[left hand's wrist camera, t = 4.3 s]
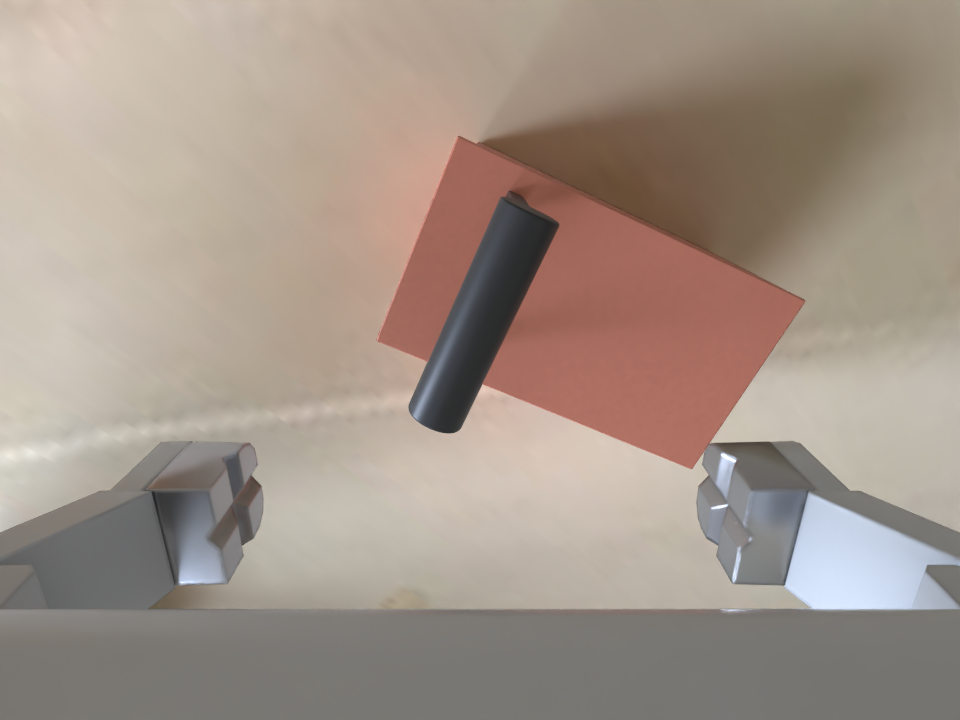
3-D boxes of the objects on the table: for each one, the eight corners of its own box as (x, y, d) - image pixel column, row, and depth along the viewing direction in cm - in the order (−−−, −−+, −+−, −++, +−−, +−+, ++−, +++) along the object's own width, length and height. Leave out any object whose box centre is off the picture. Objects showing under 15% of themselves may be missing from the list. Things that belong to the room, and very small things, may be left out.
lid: (379, 333, 28) (335, 419, 19) (458, 135, 24) (446, 135, 16) (685, 459, 30) (763, 583, 22) (794, 294, 27) (935, 366, 18)
